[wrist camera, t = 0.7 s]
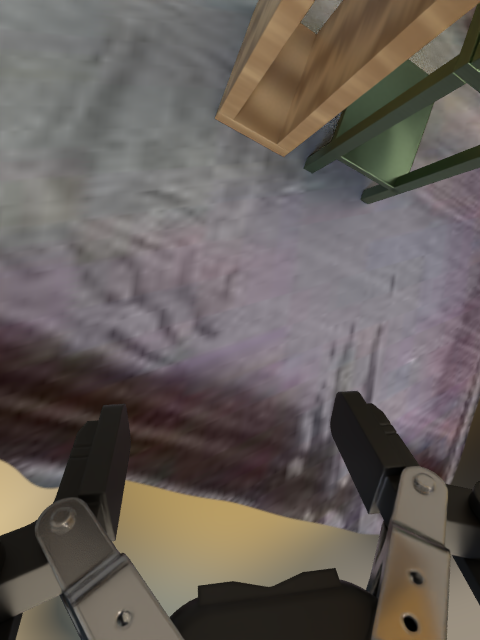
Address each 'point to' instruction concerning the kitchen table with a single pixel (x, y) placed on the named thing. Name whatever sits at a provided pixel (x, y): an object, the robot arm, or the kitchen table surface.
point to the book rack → (402, 125)
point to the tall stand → (322, 62)
